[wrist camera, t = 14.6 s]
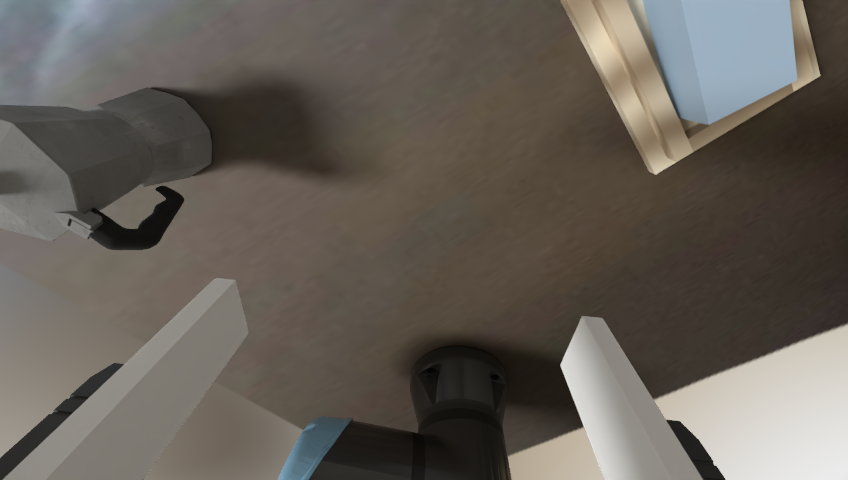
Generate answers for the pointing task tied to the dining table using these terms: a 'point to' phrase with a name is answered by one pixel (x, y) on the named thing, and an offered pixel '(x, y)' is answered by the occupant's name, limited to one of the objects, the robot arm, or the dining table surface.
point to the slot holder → (643, 81)
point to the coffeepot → (97, 165)
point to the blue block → (721, 53)
